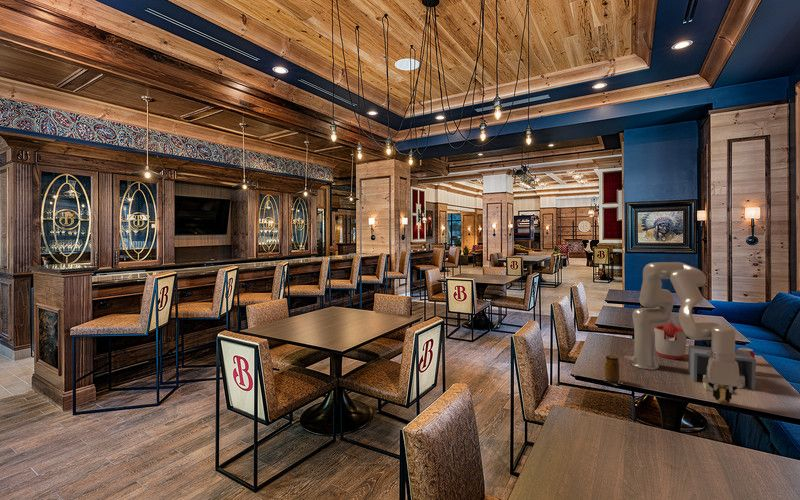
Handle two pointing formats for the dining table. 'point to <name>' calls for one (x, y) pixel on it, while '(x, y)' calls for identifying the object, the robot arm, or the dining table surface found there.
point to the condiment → (612, 369)
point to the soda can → (747, 351)
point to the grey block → (742, 379)
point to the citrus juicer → (670, 341)
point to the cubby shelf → (700, 357)
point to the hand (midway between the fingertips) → (722, 399)
